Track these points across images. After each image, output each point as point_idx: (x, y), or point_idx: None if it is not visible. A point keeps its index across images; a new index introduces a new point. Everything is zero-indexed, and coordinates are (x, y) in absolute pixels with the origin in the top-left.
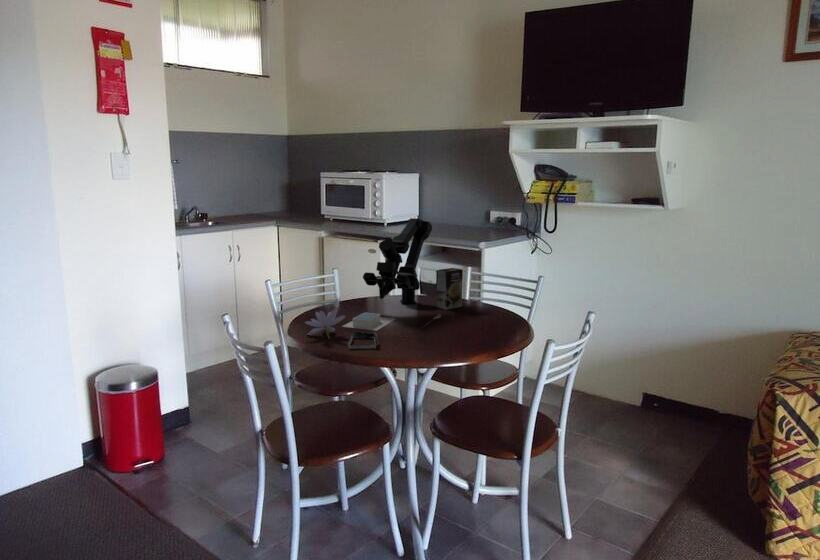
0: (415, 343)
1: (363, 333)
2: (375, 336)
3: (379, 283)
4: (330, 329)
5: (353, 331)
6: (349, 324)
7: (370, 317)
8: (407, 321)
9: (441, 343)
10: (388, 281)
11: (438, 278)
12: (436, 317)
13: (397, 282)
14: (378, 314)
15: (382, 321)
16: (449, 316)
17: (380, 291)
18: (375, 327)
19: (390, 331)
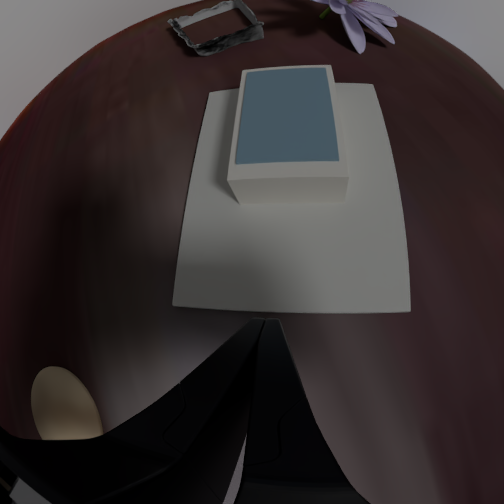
0: (94, 89)
1: (229, 34)
2: (185, 36)
3: (323, 501)
4: (342, 18)
5: (260, 23)
6: (365, 111)
7: (250, 94)
8: (117, 296)
9: (47, 123)
10: (37, 454)
11: None
12: (35, 379)
13: (9, 489)
14: (234, 166)
15: (229, 215)
16: (20, 415)
17: (274, 372)
18: (228, 116)
19: (162, 123)
